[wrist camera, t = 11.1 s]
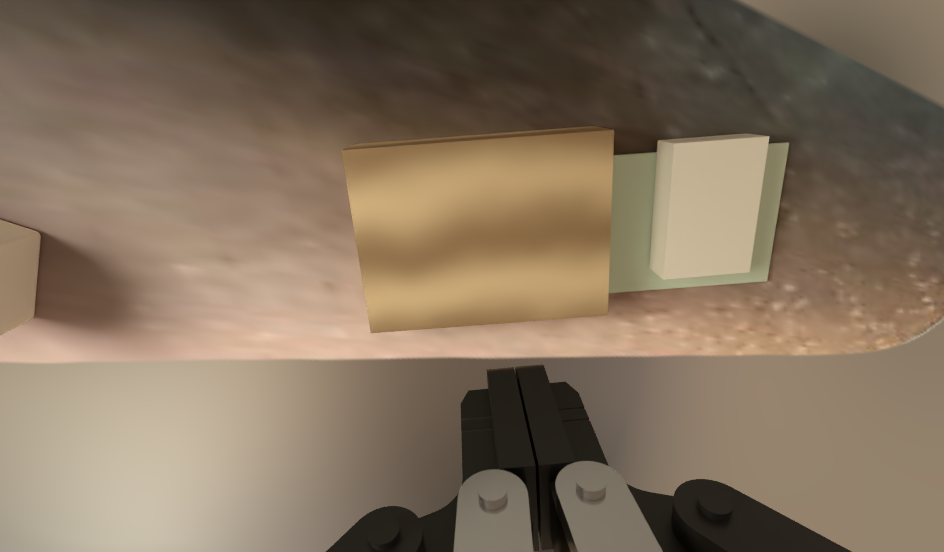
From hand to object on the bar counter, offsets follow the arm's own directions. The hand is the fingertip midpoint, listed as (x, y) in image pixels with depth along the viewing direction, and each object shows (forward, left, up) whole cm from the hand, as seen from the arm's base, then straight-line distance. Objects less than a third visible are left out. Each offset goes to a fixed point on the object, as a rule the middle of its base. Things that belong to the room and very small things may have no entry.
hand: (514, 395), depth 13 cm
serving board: (+1, 0, -22) cm, 22 cm away
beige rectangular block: (+1, +15, -19) cm, 25 cm away
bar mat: (+2, +15, -22) cm, 27 cm away
